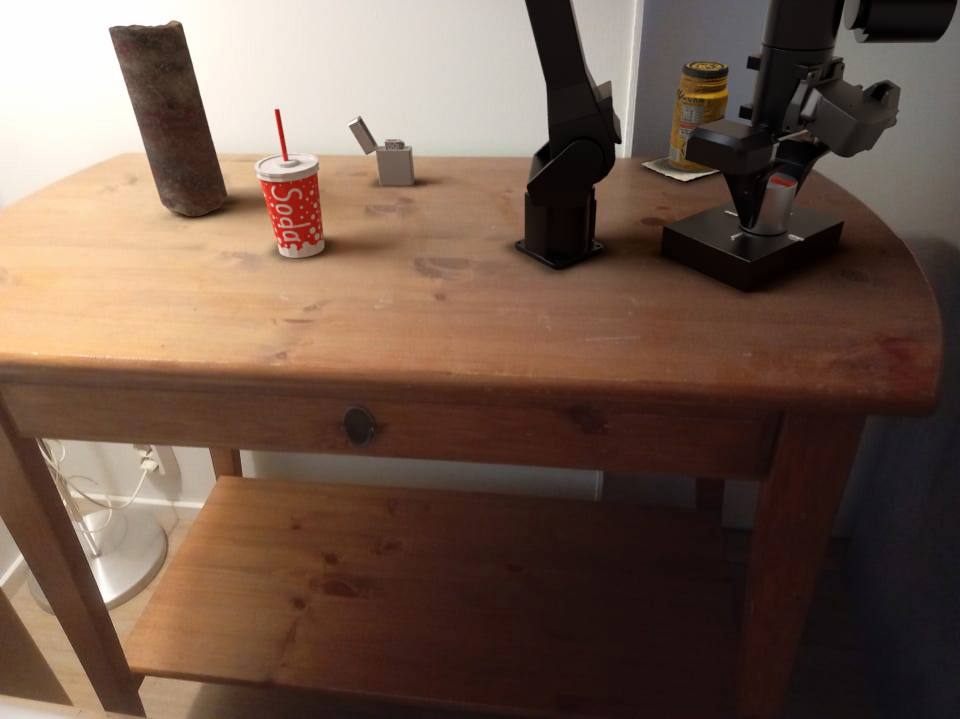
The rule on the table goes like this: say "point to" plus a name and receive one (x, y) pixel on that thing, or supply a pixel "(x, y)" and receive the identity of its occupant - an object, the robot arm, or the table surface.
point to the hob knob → (775, 206)
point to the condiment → (694, 115)
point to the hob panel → (748, 245)
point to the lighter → (386, 155)
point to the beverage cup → (292, 199)
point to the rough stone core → (170, 116)
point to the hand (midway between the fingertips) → (763, 221)
